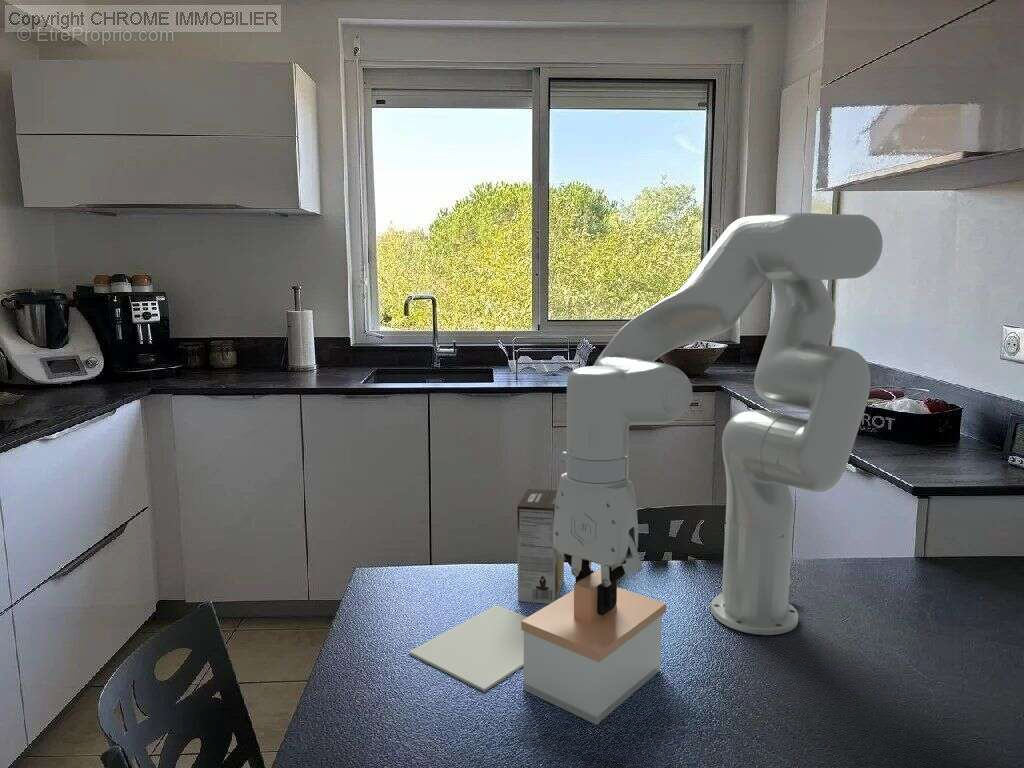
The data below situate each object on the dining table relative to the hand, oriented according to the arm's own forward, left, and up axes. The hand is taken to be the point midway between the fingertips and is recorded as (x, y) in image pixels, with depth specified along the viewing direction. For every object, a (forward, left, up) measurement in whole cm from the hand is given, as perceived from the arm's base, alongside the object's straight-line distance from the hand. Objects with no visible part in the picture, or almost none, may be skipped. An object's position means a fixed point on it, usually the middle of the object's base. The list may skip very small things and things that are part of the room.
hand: (595, 606), depth 93 cm
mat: (+2, -16, -10) cm, 19 cm away
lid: (0, 0, -3) cm, 3 cm away
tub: (0, 0, -10) cm, 10 cm away
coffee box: (-16, -21, -10) cm, 28 cm away
